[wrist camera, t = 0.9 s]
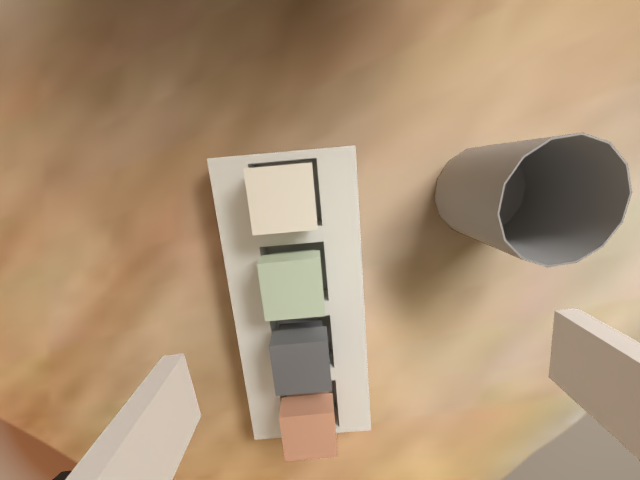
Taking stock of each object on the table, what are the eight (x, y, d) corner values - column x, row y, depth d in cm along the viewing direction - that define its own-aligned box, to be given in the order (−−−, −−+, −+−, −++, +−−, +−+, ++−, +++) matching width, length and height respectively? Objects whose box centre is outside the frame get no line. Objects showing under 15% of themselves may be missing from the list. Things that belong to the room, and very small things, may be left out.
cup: (421, 219, 29) (476, 245, 19) (454, 134, 27) (533, 115, 17) (499, 243, 29) (591, 280, 20) (536, 162, 28) (657, 158, 18)
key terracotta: (283, 383, 29) (278, 417, 25) (331, 379, 29) (334, 412, 25) (288, 423, 31) (285, 461, 27) (334, 419, 31) (338, 456, 27)
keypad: (220, 159, 27) (206, 158, 24) (350, 148, 27) (355, 145, 24) (260, 412, 34) (254, 439, 30) (365, 403, 34) (371, 430, 30)
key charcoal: (275, 320, 28) (268, 346, 24) (325, 316, 28) (327, 340, 24) (281, 364, 29) (275, 396, 25) (329, 360, 29) (332, 391, 25)
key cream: (254, 168, 24) (243, 168, 20) (312, 163, 24) (311, 162, 20) (262, 225, 26) (252, 235, 22) (317, 220, 26) (317, 229, 22)
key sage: (265, 249, 26) (256, 263, 22) (319, 244, 26) (320, 258, 22) (272, 299, 27) (264, 321, 23) (323, 294, 27) (325, 316, 23)
